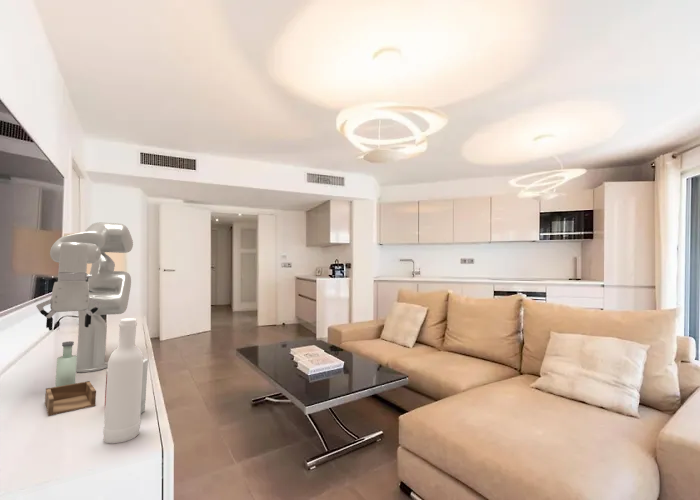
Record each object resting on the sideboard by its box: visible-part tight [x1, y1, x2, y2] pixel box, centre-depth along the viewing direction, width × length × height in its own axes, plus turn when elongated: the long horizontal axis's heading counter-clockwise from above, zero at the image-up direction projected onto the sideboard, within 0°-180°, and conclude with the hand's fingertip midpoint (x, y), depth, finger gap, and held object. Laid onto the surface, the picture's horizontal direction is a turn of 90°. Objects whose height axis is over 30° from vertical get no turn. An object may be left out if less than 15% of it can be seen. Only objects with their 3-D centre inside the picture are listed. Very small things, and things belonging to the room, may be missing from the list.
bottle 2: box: [102, 317, 144, 444], centre depth 90 cm, size 8×8×30 cm
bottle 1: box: [54, 341, 77, 387], centre depth 117 cm, size 5×5×17 cm
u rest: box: [44, 380, 97, 417], centre depth 107 cm, size 12×11×5 cm
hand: (68, 328), depth 117 cm, fingers open, 9 cm apart
